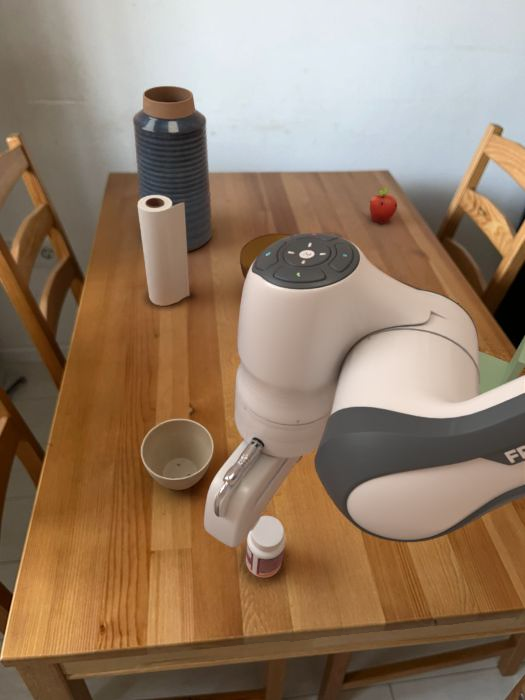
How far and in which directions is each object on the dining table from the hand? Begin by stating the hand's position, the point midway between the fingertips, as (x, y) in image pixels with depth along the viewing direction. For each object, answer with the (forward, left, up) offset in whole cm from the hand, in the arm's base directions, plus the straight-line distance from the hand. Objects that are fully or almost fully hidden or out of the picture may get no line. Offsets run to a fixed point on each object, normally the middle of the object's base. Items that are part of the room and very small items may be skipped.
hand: (272, 487), depth 55 cm
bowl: (+26, -49, -19) cm, 59 cm away
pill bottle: (0, 0, -19) cm, 19 cm away
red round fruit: (+21, -91, -19) cm, 95 cm away
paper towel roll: (+45, -35, -19) cm, 60 cm away
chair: (-15, -45, -18) cm, 51 cm away
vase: (+58, -55, -19) cm, 82 cm away
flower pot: (+17, -4, -19) cm, 25 cm away
